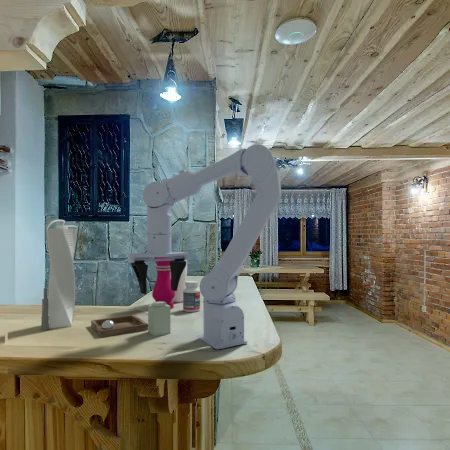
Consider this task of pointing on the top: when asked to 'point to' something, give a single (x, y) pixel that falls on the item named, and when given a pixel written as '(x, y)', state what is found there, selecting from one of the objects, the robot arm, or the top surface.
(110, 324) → the steel ball
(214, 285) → the robot arm
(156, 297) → the pepper mill
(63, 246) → the skyscraper
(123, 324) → the tray
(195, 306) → the pill bottle
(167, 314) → the spice tin
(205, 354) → the top surface
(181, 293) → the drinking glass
